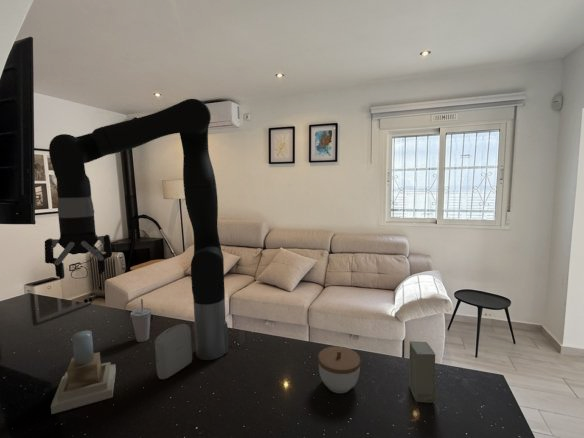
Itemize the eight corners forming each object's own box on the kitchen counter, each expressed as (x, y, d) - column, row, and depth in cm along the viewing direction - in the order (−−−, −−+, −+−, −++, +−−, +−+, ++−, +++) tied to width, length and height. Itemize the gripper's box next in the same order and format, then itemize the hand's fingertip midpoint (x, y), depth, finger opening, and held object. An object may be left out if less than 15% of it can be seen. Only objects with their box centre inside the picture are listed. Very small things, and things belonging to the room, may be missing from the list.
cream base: (115, 370, 85) (114, 358, 84) (112, 397, 74) (111, 384, 74) (63, 383, 79) (62, 371, 79) (51, 414, 69) (50, 400, 68)
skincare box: (434, 403, 71) (436, 355, 70) (415, 402, 71) (417, 354, 70) (425, 386, 77) (427, 341, 76) (407, 385, 78) (409, 340, 76)
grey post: (94, 354, 78) (92, 329, 78) (92, 362, 75) (90, 336, 74) (76, 358, 77) (73, 332, 76) (73, 367, 73) (70, 339, 72)
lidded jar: (350, 370, 84) (351, 338, 83) (366, 397, 74) (367, 361, 72) (313, 374, 82) (313, 342, 81) (324, 402, 72) (324, 365, 71)
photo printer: (164, 381, 80) (161, 337, 78) (154, 376, 82) (151, 333, 80) (194, 362, 88) (192, 322, 87) (184, 358, 91) (182, 318, 89)
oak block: (101, 373, 80) (99, 352, 80) (98, 386, 75) (96, 363, 74) (74, 379, 78) (72, 358, 77) (69, 394, 72) (67, 370, 72)
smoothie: (147, 344, 99) (144, 303, 97) (128, 344, 99) (125, 303, 97) (156, 334, 105) (154, 295, 103) (138, 334, 105) (135, 295, 104)
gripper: (37, 217, 71) (44, 284, 73) (107, 214, 78) (112, 275, 79) (46, 215, 78) (52, 275, 80) (109, 212, 84) (114, 268, 86)
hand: (82, 275), depth 80 cm, fingers open, 8 cm apart
